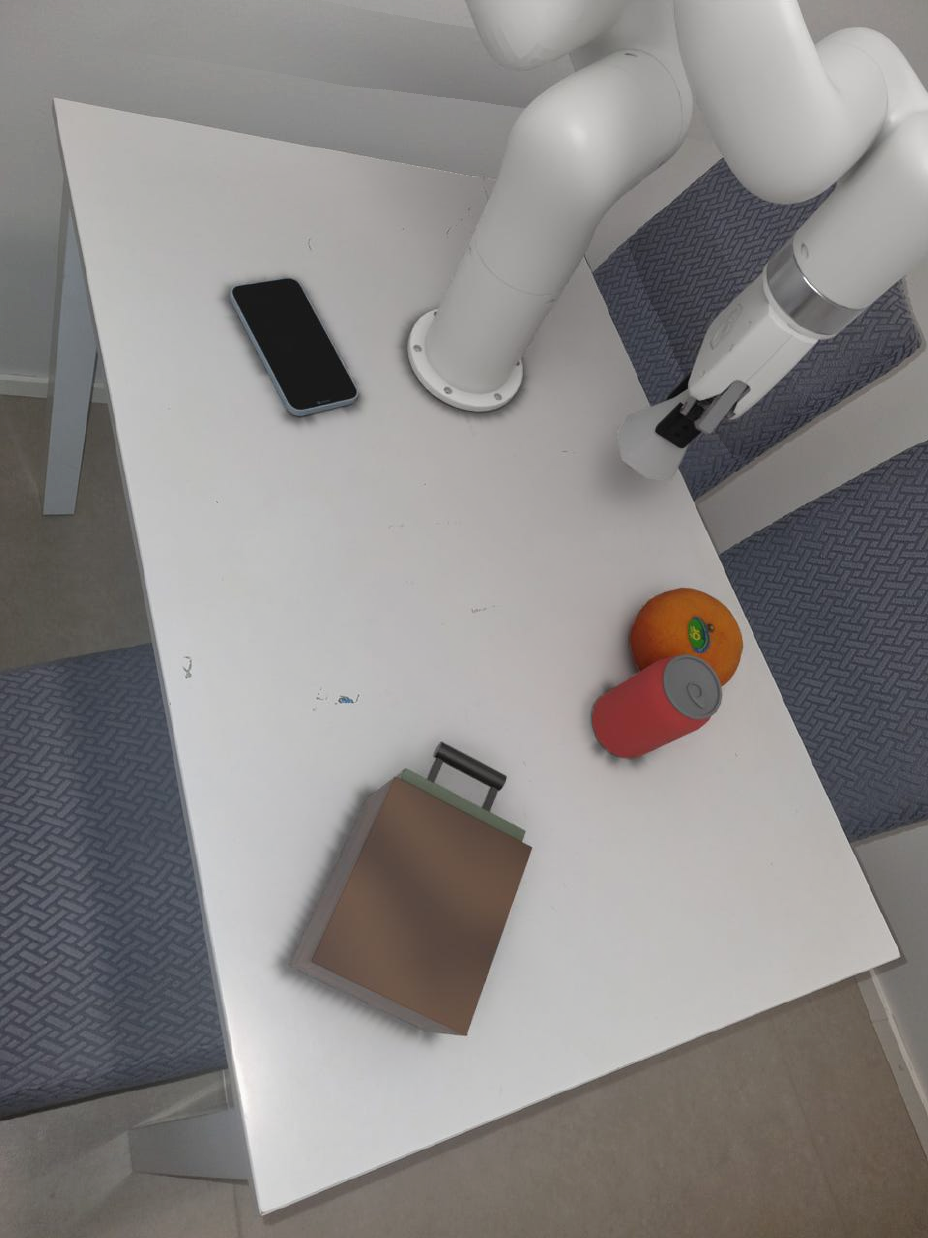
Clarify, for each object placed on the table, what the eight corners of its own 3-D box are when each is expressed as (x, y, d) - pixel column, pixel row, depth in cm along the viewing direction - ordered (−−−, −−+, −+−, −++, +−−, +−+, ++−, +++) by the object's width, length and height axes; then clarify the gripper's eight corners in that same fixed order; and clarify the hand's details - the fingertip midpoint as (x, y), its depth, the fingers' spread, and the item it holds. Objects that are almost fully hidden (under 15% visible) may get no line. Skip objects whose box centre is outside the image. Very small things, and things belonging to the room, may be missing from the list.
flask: (676, 493, 83) (743, 436, 74) (610, 465, 81) (671, 403, 72) (682, 434, 86) (747, 373, 77) (619, 405, 84) (678, 340, 76)
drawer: (402, 741, 72) (428, 718, 66) (510, 797, 73) (544, 780, 67) (311, 938, 64) (331, 932, 58) (435, 998, 65) (466, 997, 59)
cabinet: (365, 799, 70) (395, 775, 62) (489, 862, 71) (532, 847, 64) (287, 966, 63) (310, 961, 56) (426, 1032, 65) (466, 1036, 57)
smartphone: (296, 275, 87) (362, 397, 83) (295, 282, 87) (360, 402, 84) (226, 286, 83) (292, 413, 80) (225, 292, 84) (290, 419, 81)
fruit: (685, 601, 89) (732, 568, 82) (723, 695, 86) (775, 669, 79) (599, 617, 85) (642, 584, 78) (637, 718, 82) (685, 692, 75)
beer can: (610, 771, 79) (685, 737, 68) (576, 706, 80) (645, 663, 70) (662, 744, 82) (741, 708, 71) (629, 682, 83) (702, 637, 73)
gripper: (795, 193, 67) (663, 343, 83) (752, 327, 59) (614, 465, 75) (871, 247, 68) (726, 385, 84) (839, 386, 60) (685, 509, 76)
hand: (675, 422), depth 79 cm, fingers closed on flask, 3 cm apart
